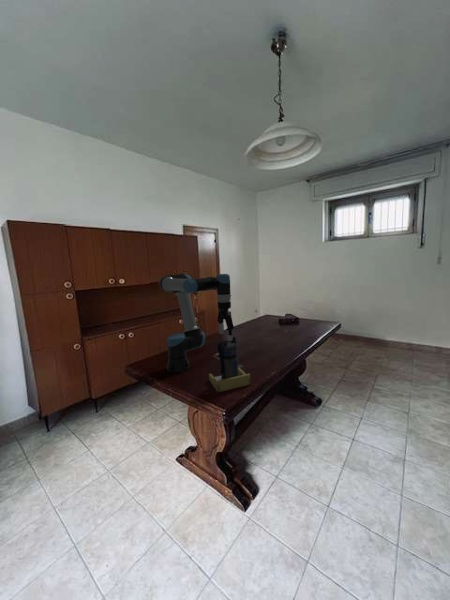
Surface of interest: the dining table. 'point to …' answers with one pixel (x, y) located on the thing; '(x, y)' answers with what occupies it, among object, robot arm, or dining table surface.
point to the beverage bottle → (228, 358)
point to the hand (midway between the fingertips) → (225, 337)
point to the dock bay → (230, 381)
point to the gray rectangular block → (241, 367)
